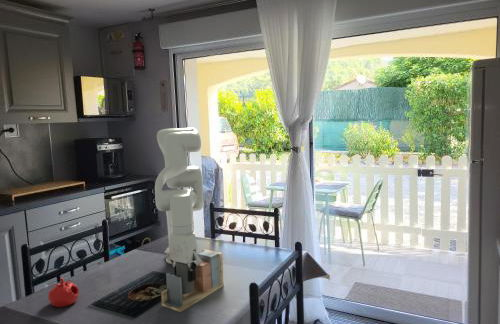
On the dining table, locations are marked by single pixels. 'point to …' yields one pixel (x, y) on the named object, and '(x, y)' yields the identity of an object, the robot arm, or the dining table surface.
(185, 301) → the rack
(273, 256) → the dining table surface
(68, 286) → the pomegranate
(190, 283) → the bottle
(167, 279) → the bookend
